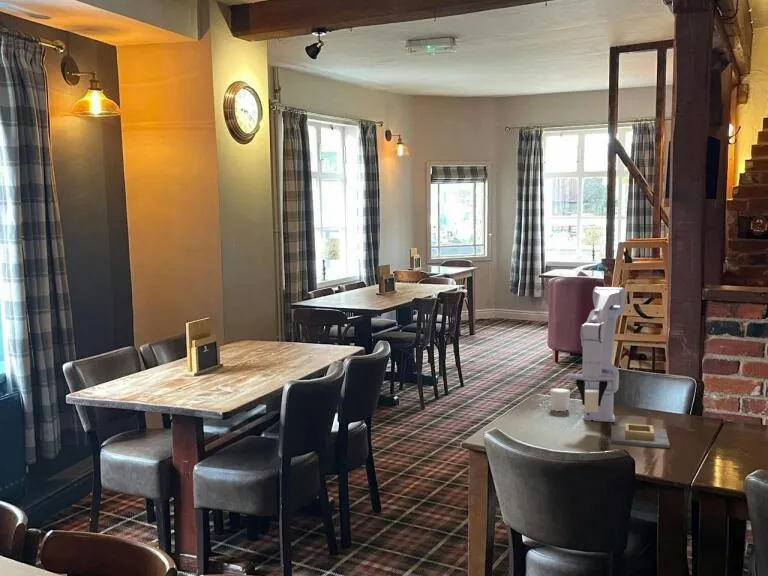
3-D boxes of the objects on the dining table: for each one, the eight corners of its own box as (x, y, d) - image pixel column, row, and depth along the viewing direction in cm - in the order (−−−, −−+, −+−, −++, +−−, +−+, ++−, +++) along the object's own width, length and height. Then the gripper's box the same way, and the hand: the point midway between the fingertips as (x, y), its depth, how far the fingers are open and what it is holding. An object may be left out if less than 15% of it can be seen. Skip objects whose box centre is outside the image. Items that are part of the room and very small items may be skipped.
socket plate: (611, 443, 212) (611, 433, 211) (611, 428, 227) (611, 419, 227) (669, 448, 207) (669, 438, 207) (665, 432, 222) (665, 422, 222)
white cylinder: (571, 408, 252) (572, 388, 251) (568, 413, 246) (568, 392, 245) (552, 406, 255) (552, 386, 254) (547, 411, 248) (548, 391, 248)
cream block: (584, 411, 223) (584, 392, 222) (584, 408, 227) (585, 389, 226) (597, 412, 222) (598, 393, 221) (598, 409, 226) (598, 390, 225)
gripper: (567, 362, 221) (566, 406, 223) (616, 365, 217) (616, 409, 218) (568, 358, 228) (567, 400, 229) (616, 360, 224) (615, 403, 225)
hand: (591, 404), depth 224 cm, fingers closed on cream block, 4 cm apart
